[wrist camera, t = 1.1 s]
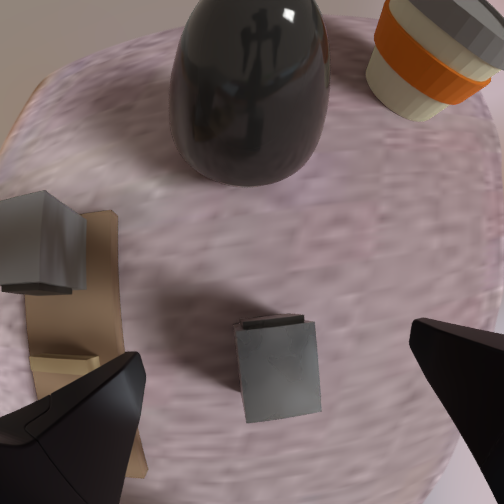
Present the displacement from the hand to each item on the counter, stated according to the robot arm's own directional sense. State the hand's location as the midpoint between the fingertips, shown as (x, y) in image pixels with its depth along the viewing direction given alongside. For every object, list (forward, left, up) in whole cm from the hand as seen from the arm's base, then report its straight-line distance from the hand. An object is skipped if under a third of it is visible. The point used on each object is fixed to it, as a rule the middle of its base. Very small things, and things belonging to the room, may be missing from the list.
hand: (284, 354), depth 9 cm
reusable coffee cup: (+22, -19, -12) cm, 31 cm away
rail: (-1, +13, -12) cm, 18 cm away
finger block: (-2, -1, -12) cm, 12 cm away
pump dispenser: (+14, -1, -12) cm, 18 cm away
